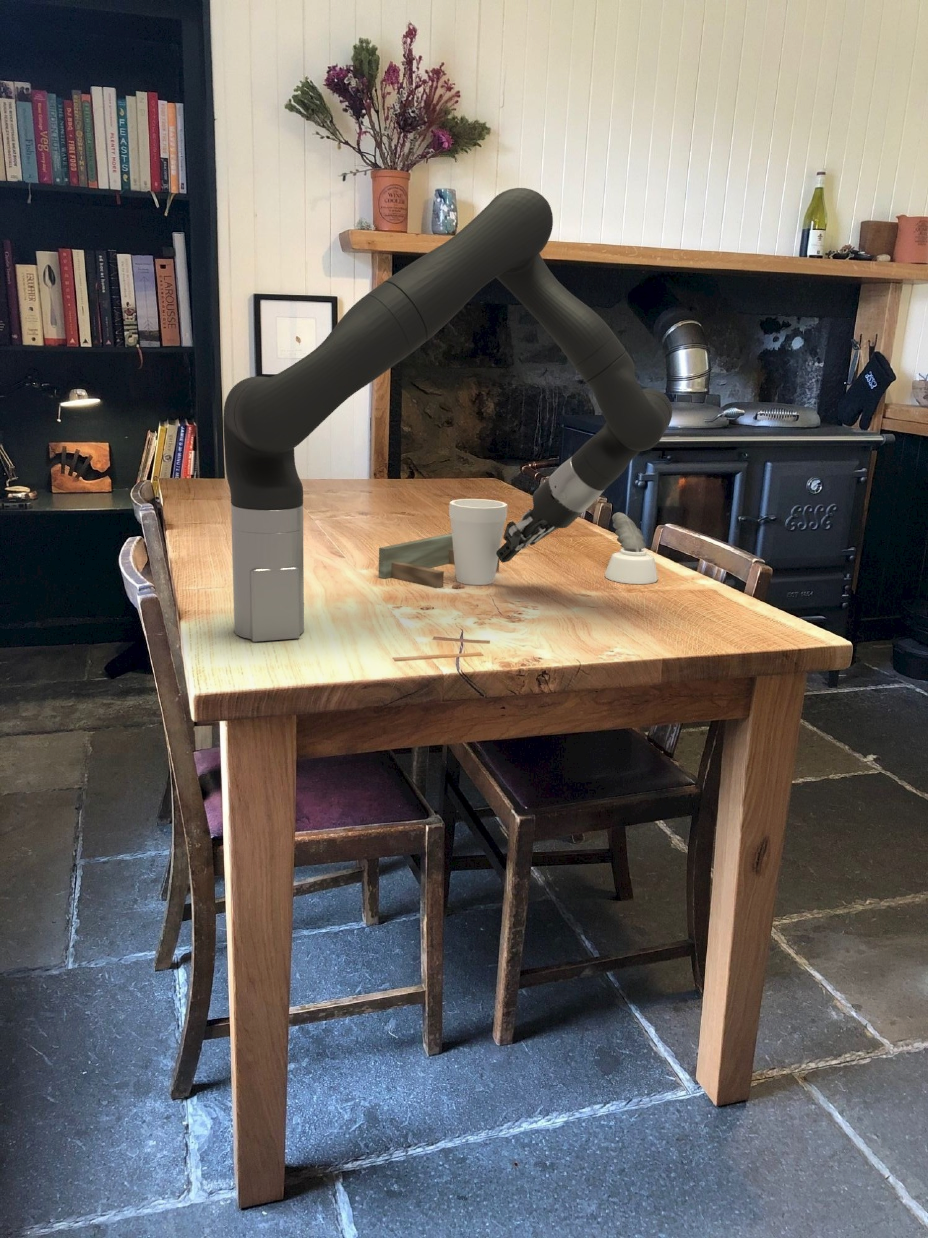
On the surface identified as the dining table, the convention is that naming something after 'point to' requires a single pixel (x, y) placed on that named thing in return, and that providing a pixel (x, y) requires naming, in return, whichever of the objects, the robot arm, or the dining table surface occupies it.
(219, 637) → the dining table surface
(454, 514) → the foam cup
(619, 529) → the inkwell
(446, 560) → the dock
